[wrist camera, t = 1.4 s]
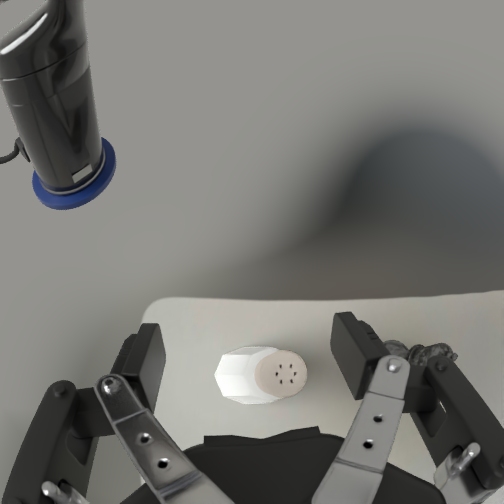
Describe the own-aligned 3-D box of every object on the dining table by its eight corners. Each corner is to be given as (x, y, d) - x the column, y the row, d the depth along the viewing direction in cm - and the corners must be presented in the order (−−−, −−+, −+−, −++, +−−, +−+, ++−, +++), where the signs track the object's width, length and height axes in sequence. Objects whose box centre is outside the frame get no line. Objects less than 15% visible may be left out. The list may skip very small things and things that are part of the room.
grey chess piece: (392, 345, 29) (473, 320, 19) (391, 395, 27) (476, 387, 16) (350, 344, 28) (433, 318, 18) (349, 398, 26) (435, 397, 15)
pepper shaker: (272, 347, 27) (326, 326, 17) (273, 403, 24) (330, 414, 15) (214, 345, 25) (237, 325, 16) (214, 404, 23) (238, 423, 13)
